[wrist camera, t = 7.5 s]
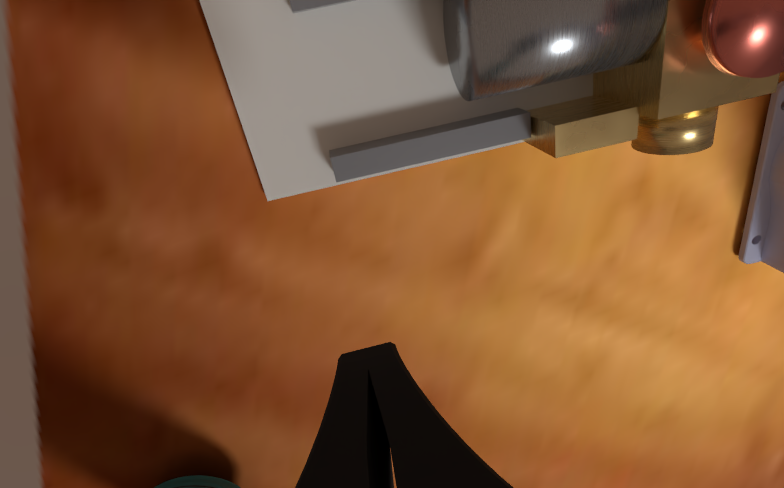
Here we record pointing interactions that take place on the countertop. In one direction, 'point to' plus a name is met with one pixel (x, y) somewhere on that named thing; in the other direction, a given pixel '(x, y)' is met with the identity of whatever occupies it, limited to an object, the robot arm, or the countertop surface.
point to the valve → (673, 82)
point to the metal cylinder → (543, 40)
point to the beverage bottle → (197, 482)
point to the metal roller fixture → (357, 90)
